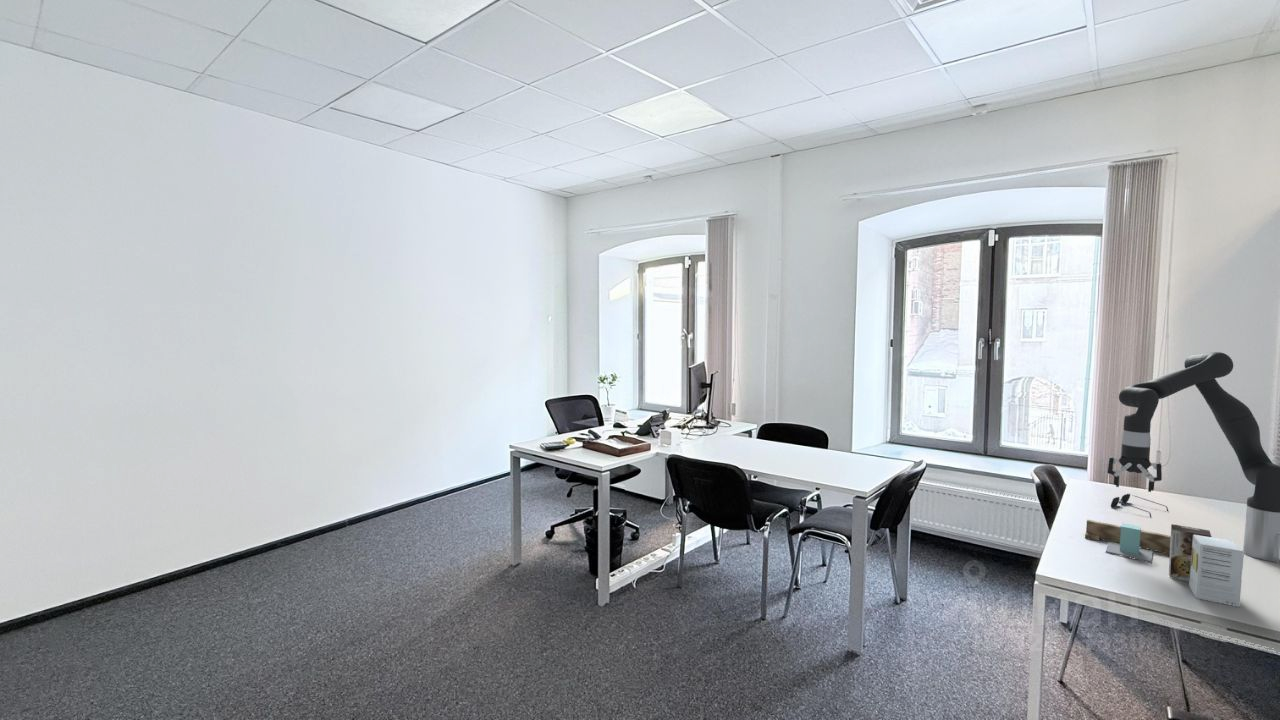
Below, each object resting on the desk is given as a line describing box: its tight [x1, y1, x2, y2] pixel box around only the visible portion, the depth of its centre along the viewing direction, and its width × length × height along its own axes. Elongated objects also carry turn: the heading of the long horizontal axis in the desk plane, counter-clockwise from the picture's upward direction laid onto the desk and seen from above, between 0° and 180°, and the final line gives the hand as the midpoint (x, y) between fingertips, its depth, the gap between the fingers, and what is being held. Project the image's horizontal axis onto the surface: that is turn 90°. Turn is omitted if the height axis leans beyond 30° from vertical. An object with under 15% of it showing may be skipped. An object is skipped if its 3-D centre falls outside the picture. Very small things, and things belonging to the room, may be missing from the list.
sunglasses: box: [1110, 493, 1169, 518], centre depth 244 cm, size 17×15×5 cm
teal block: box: [1119, 522, 1142, 555], centre depth 197 cm, size 5×5×9 cm
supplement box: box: [1188, 535, 1245, 608], centre depth 165 cm, size 10×9×17 cm
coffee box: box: [1168, 523, 1213, 582], centre depth 177 cm, size 9×6×16 cm
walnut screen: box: [1084, 519, 1171, 557], centre depth 204 cm, size 26×8×6 cm, turn 45°
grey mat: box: [1105, 541, 1154, 563], centre depth 197 cm, size 12×12×1 cm
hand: (1133, 488), depth 196 cm, fingers open, 8 cm apart
